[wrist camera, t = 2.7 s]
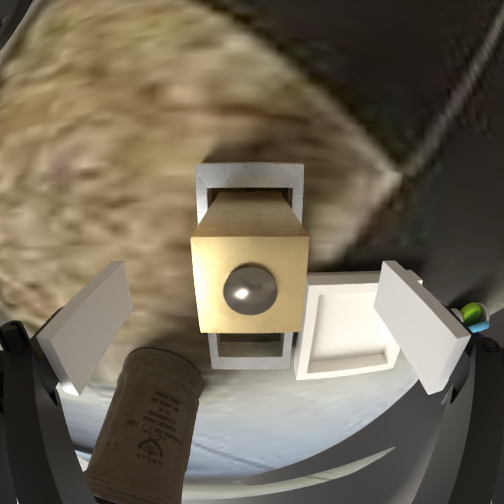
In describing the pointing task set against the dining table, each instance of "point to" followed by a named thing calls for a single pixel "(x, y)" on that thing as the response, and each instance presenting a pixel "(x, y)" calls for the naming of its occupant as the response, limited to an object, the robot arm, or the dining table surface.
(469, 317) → the rainbow petal fan toy
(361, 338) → the parts tray
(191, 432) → the beer stein
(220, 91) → the dining table surface
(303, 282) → the tan knobbed block
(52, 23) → the dining table surface
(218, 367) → the gray rectangular frame
